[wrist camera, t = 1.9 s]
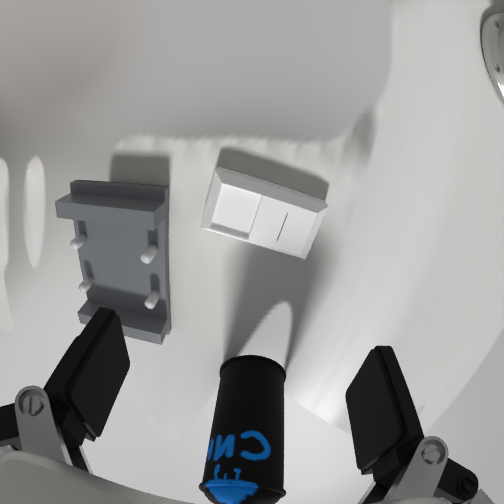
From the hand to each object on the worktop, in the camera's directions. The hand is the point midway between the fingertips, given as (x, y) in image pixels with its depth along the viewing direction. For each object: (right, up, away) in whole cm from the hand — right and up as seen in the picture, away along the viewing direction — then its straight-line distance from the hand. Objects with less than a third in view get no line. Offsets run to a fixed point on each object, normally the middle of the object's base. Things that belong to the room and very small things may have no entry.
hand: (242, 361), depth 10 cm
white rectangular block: (+1, +8, +14) cm, 16 cm away
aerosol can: (0, -11, +23) cm, 26 cm away
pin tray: (-13, +3, +17) cm, 21 cm away
